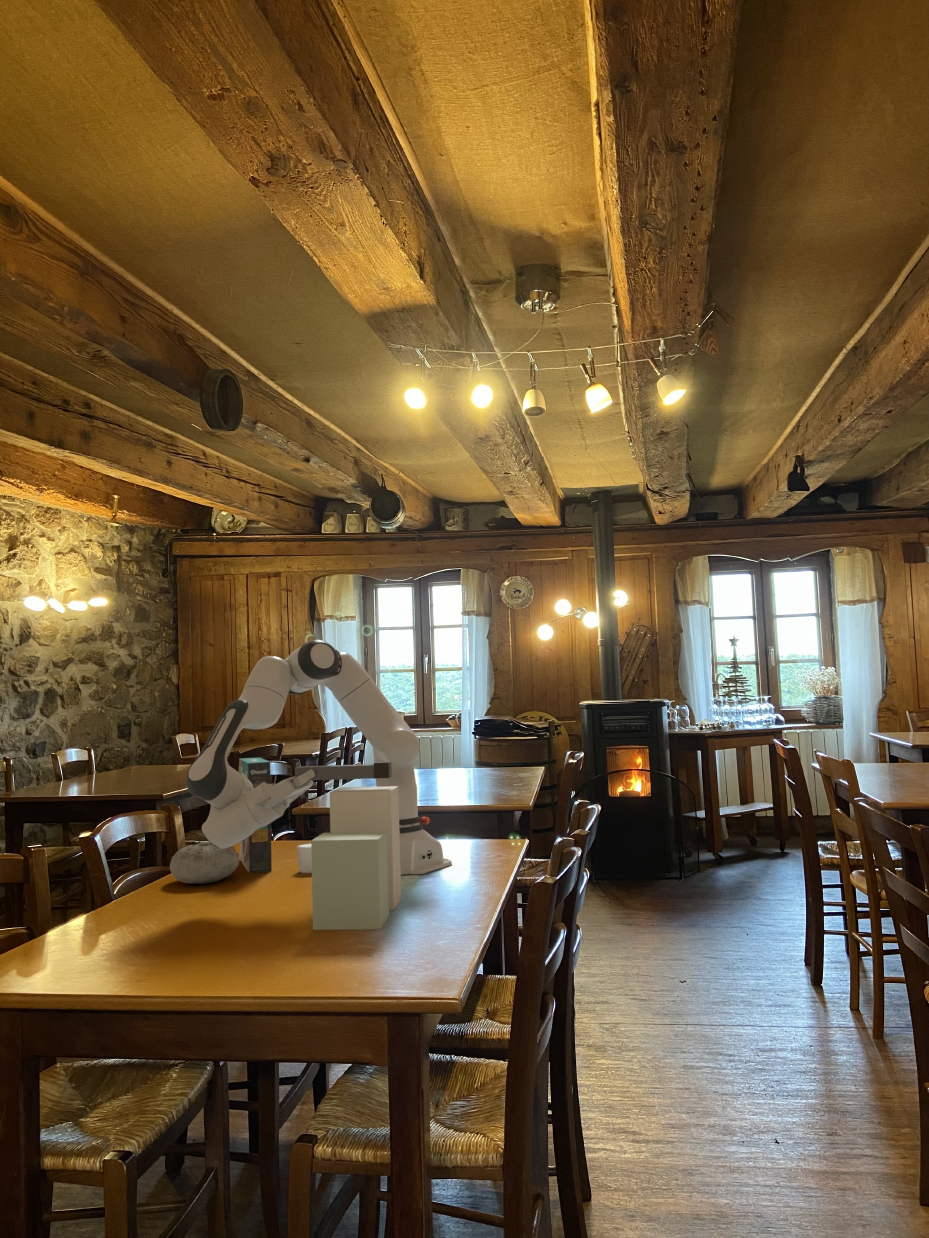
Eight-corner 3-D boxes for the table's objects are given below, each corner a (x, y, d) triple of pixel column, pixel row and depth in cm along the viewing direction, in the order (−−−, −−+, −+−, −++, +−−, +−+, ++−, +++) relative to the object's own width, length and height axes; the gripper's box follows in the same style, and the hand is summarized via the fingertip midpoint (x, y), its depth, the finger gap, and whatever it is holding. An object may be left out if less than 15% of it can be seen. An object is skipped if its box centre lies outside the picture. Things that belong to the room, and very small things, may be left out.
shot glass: (317, 873, 237) (317, 847, 238) (293, 873, 238) (293, 847, 239) (326, 868, 244) (326, 842, 244) (303, 868, 245) (302, 842, 246)
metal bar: (294, 780, 202) (294, 765, 202) (299, 779, 205) (298, 764, 205) (389, 778, 200) (388, 762, 200) (391, 776, 203) (391, 761, 203)
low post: (312, 929, 179) (311, 840, 181) (325, 917, 189) (323, 832, 191) (380, 929, 178) (378, 839, 180) (389, 916, 188) (386, 831, 190)
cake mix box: (240, 860, 261) (239, 758, 263) (261, 858, 263) (259, 757, 266) (249, 873, 240) (248, 763, 243) (271, 871, 243) (270, 761, 245)
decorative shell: (165, 879, 236) (165, 841, 237) (231, 871, 244) (231, 835, 245) (176, 891, 220) (176, 851, 221) (247, 882, 228) (246, 843, 229)
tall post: (331, 910, 195) (329, 792, 197) (342, 899, 205) (339, 787, 207) (393, 909, 194) (390, 790, 196) (401, 899, 204) (398, 786, 206)
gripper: (245, 796, 194) (297, 763, 193) (273, 785, 214) (320, 755, 214) (259, 820, 193) (312, 787, 192) (286, 808, 213) (334, 778, 213)
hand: (316, 770), depth 203 cm, fingers closed on metal bar, 3 cm apart
